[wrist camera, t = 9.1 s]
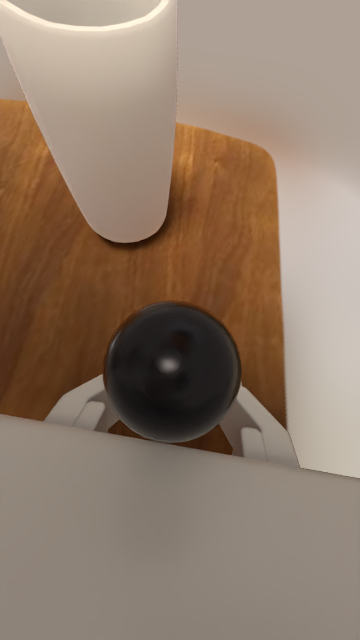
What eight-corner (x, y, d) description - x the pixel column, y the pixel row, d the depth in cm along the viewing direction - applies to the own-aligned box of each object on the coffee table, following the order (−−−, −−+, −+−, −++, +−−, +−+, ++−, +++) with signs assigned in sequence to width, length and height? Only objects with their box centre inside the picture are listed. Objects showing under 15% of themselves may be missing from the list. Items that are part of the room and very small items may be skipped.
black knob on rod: (154, 361, 19) (1, 247, 3) (201, 352, 19) (278, 197, 3) (162, 412, 18) (-8, 619, 2) (212, 401, 18) (406, 523, 2)
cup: (186, 217, 23) (225, -11, 10) (127, 270, 21) (72, 73, 8) (127, 168, 24) (88, -102, 11) (65, 214, 22) (-82, -49, 9)
